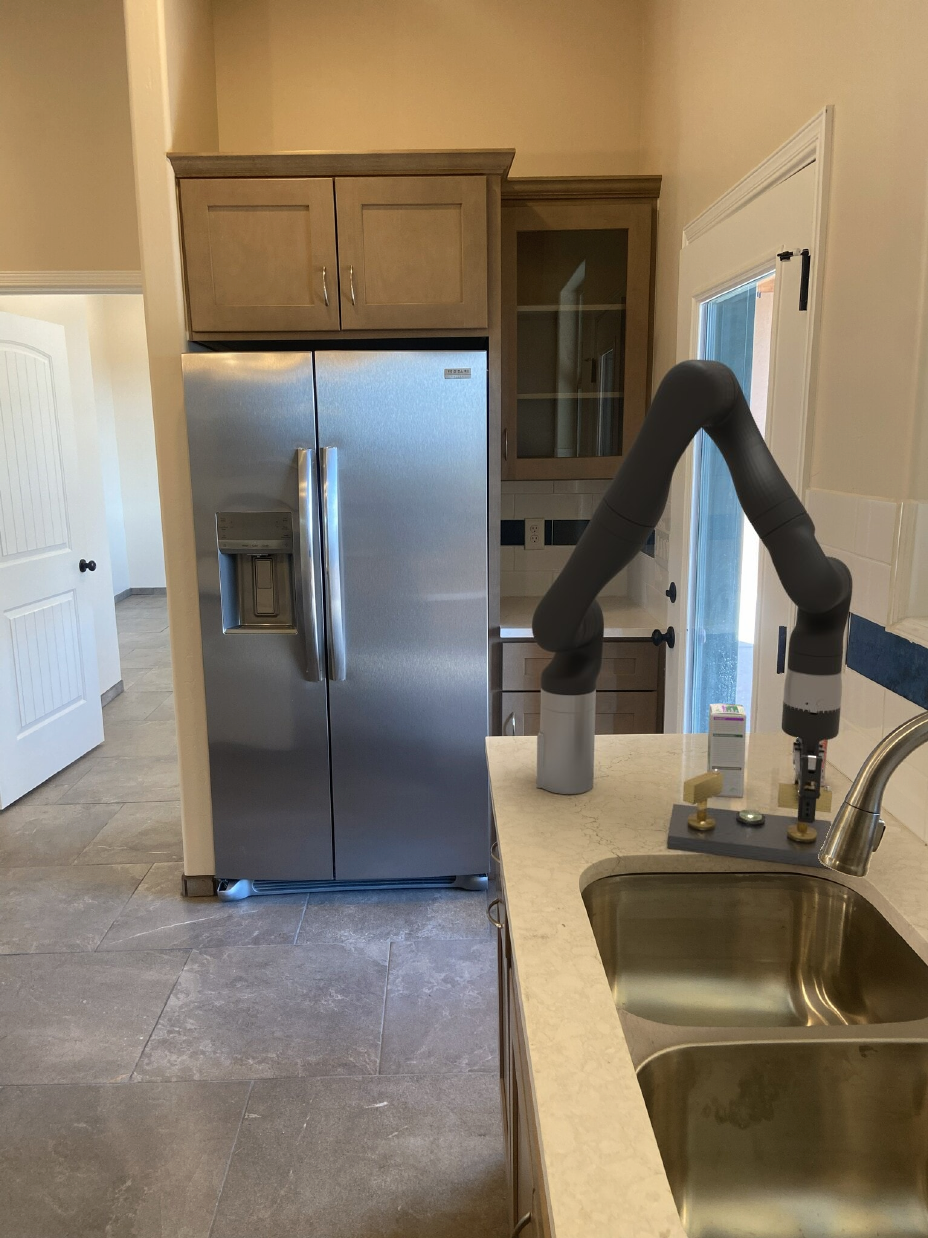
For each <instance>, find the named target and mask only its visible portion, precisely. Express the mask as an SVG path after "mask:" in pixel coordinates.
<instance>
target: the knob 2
mask: <svg viewBox="0 0 928 1238" xmlns="http://www.w3.org/2000/svg"><path fill="white" fill-rule="evenodd" d="M804 788H807V789H814V786H805V787H804ZM798 790H799V785H795V783H782V782H778V791H777V792H778V794H777V807H778V808H782V809H783V808H785V809H790V810H792V809H793V810H798V803H799V794H798ZM832 797H833V789H832V787H831V786H830V785H825V786H824V787H823V786H821V787H820V796H819V799H816V811H815V812H819V813H830V814H831V813H832V801H833V798H832ZM787 836H788V837H789V838H791V839H793V840H795V841H799V842H813V841H815V840H816V838H817V831H816V830H815V829H814V828H812V827H809V826H808V823H804V822H799V821H797V825H790V826H788V828H787Z"/></svg>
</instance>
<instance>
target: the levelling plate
mask: <svg viewBox="0 0 928 1238" xmlns="http://www.w3.org/2000/svg"><path fill="white" fill-rule="evenodd" d="M691 814H697V805H689V804H679V803H673V805H672V810H671V817H670V822H669V827H668V832H667V842H666V849H669V850H675V851H676V850H678V851H687V852H691V853H692V852H695V853H702V854H710V855H717V856H725V857H733V858H742V859H750V860H758V861H764V862H765V861H767V862H775V863H782V864H791V865H798V866H806V867H807V866H808V867H815V868H822V869H829V868H828V867H826V866H824V865H823V864H821V863H820V861H819V859H818V854H819V852H820V849H821V847H822V846H823V844H824V841H825V840H826V836H827V833H828V831H829V829H830V826H831V825H832V822H831V820H824V819H816V818H815V821H814V822H813V823H808V826H809V827H812V828H814V829H815V830H816V831H817V838H816V840H815V841H813V842H799V841H795V840H793V839H791V838H789V837H788V836H787V828H788V826H790V825H797V821H798V816H797V817H796V816H788V815H778V814H769V813H761V812H759V811H757V810H754V809H742V810H732V809H725V808H724V809H723V808H715V807H707V815H710V816H712V817H714V818H715V820H716V821H715V828H714V829H712V830H697V829H693V828H691V827H690V826H688V824H687V822H688V816H689V815H691Z"/></svg>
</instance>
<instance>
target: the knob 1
mask: <svg viewBox="0 0 928 1238" xmlns="http://www.w3.org/2000/svg"><path fill="white" fill-rule="evenodd" d="M722 782H723V773H720V772H719V770H718V769H713V770H712V771H710V772H707V771H706V772H705V773H702V774H699V775H697V776H694V777H691V778H690V779H686V780H684V781H683V791H682V792H683V796H682V802H685V803H687V804H690V805H692V806H695V804H697V805H696V806H697V814H691V815H689V816H688V822H687V824H688V826H690V827H691V828H693V829H697V830H712V829H714V828H715V821H716V820H715V818H714V817H712V816H710V815H707V808H708V799H711V798H712V797H716V796H715V795H718V794H720V793H722Z"/></svg>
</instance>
